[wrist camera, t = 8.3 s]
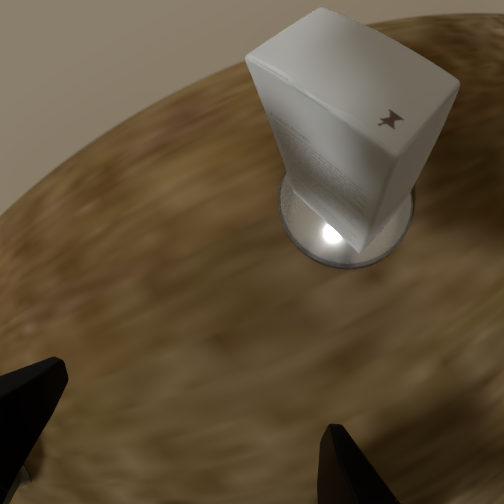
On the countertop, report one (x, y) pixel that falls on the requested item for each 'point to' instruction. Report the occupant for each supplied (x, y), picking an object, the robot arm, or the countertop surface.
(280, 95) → the skincare box
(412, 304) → the countertop surface
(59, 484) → the countertop surface
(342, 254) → the silver round plate
